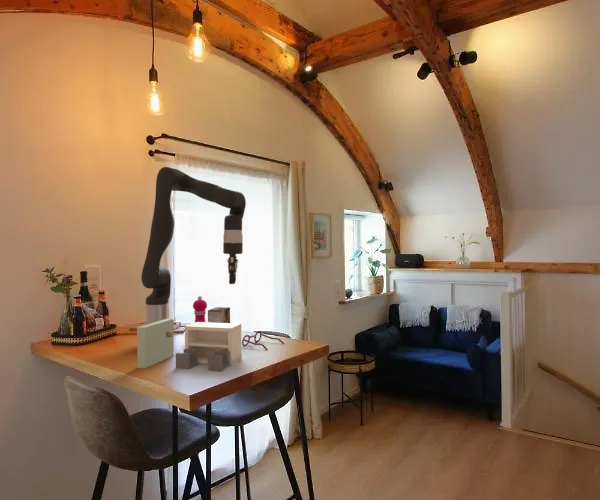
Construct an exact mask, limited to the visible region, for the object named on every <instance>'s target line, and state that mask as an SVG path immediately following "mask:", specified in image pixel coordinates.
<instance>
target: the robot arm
mask: <svg viewBox="0 0 600 500" xmlns="http://www.w3.org/2000/svg"><path fill="white" fill-rule="evenodd" d="M172 191H173V192H185V193H190V194H193V195H195V196H196V197H198V198H200V199H203V200H205V201H208V202H210V203H214V204H217V205H219V206H221V207H224V208H226V209H229V213H228V215H225V216H224V220H223V222H224V223H223V238H222V239H223V242H222V243H223V244H222V245H223V247H222V252H223V254H225V255H229V256H228V258H227V271H228V276H229V277H228V284H229V285H234V284H236V281H237V271H238V263H239V259H238V257H237V255H242V254H243V245H244V244H243V242H244V240H243V239H244V238H243V237H244V236H243V218H244V214H245V210H246V205H247V204H246V203H247V201H246V197H245V195H244V194H243V193H242V192H241V191H237V190H232V189H228V188H225V187H224V188H223V187H222V186H220V185H218V184H214V183H211V182H208V181H204V180H200V179H197V178H194V177H192V176H190V175H189V174H187V173H185V172H183V171H182V170H180V169H177V168H172V167H168V166H164V167H161V168H160V169H159V171H158V172H157V175H156V179H155V196H154V197H155V199H154V205H153V206H154V208H153V214H152V220H151V226H150V234H149V240H148V246H147V252H146V255H145V260H144V262H143V263H144V264H143V267H142V272H141V279H140V280H141V283H142V286H143V287H144V288H145V289H150V290H151V289H152V292H151V293H150V294H149V295H148V296H147V297H146V298H145V321H144V322H143V325H147V324H150V323H154V322H157V321H160V320H164V319H170V317H169V299H170V297H171V289H172V288H171V287H172V286H171V285H172V278H171V272H170V269H169V268H167V266H164V265H161V260H162V257H163V255H164V253H165V251H166V250H167V248H168V247H169V246H170V244H171V242H172V240H173V236H174V233H175V231H174V230H175V226H176V225H175V224H176V222H175V217H174V216H175V215H174V212H173V210H172V205H171V199H172V198H171V197H172Z"/></svg>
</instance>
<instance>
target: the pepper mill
mask: <svg viewBox="0 0 600 500" xmlns="http://www.w3.org/2000/svg"><path fill="white" fill-rule="evenodd" d="M192 308H193V309H194V311H193V312H194V316H195V317H194V323H195V322H207V321H206V315H207V310H206V309H207V308H208V304H207V301H206V300H204V299H203V297H202V296H201V295H199V296H198V297H197V300H194V301H193V304H192Z"/></svg>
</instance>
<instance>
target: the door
mask: <svg viewBox="0 0 600 500" xmlns="http://www.w3.org/2000/svg"><path fill="white" fill-rule="evenodd" d="M136 340H137V341H136V357H137V358H136V360H137V362H136V363H137V366H136V367H137V369H147V368H149V367H151V366H155V365H156V364H158V363H160V362H162V361H166V360H167V359H169V358H171V357H174V353H175V351H174V350H175V349H174V318H169V319H164V320H160V321H157V322H154V323H150V324H147V325H144V324H143V325H139V326H137V328H136Z"/></svg>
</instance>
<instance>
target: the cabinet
mask: <svg viewBox="0 0 600 500" xmlns="http://www.w3.org/2000/svg"><path fill="white" fill-rule="evenodd" d="M242 350H243V349H242V323H231V322H230V323H211V322H208V321H206V322H195V321H194V322H193V323H190V324H187V325H184V349H183V350H182V352H175V369H183V370H184V369H185V370H188V369H191V368H193V367H194V366H197V365H198V364H203V365H207V371H213V372H214V371H215V372H222V371H224V370H226V369H227V368H229V367H230V366H231V367H232V366H234V365H235V364H236V363H238V362H240V361H241V360H242V359H243V357H242Z"/></svg>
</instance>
